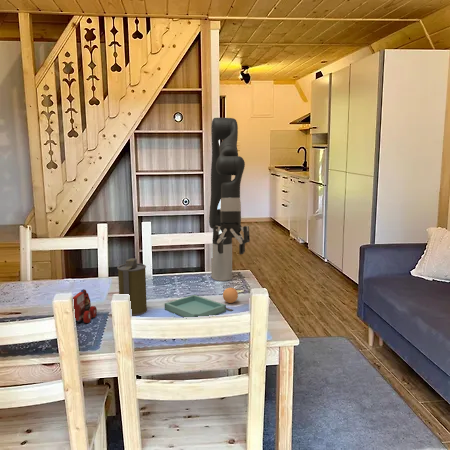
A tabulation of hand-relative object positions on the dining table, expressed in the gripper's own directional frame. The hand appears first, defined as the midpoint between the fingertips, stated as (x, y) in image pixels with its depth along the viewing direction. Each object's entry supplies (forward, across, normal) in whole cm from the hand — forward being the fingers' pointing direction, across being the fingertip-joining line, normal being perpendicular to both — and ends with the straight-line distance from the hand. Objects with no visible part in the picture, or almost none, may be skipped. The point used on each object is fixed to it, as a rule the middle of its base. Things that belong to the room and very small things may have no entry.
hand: (231, 253), depth 164 cm
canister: (+22, +34, +16) cm, 43 cm away
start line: (+21, +9, -4) cm, 23 cm away
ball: (+18, +5, -9) cm, 21 cm away
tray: (+22, +13, +5) cm, 26 cm away
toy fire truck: (+23, +44, +30) cm, 58 cm away
